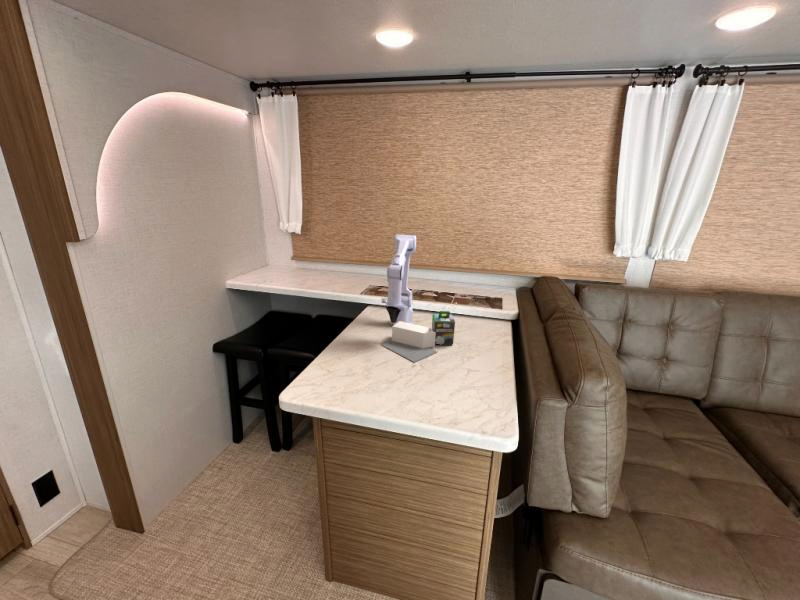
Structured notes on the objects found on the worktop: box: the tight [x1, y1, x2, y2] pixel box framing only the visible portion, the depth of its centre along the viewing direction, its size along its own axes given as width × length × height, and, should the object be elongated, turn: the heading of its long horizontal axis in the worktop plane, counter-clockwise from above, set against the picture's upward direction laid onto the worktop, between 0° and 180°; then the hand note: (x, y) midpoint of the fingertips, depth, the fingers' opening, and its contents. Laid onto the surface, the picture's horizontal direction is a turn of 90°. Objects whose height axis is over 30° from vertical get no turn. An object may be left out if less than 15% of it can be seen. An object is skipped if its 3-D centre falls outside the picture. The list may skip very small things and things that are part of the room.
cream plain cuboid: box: [391, 321, 436, 348], centre depth 154 cm, size 7×7×19 cm
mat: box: [381, 340, 438, 364], centre depth 150 cm, size 14×20×1 cm
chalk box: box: [431, 310, 456, 346], centre depth 157 cm, size 9×9×15 cm
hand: (393, 322), depth 155 cm, fingers closed
